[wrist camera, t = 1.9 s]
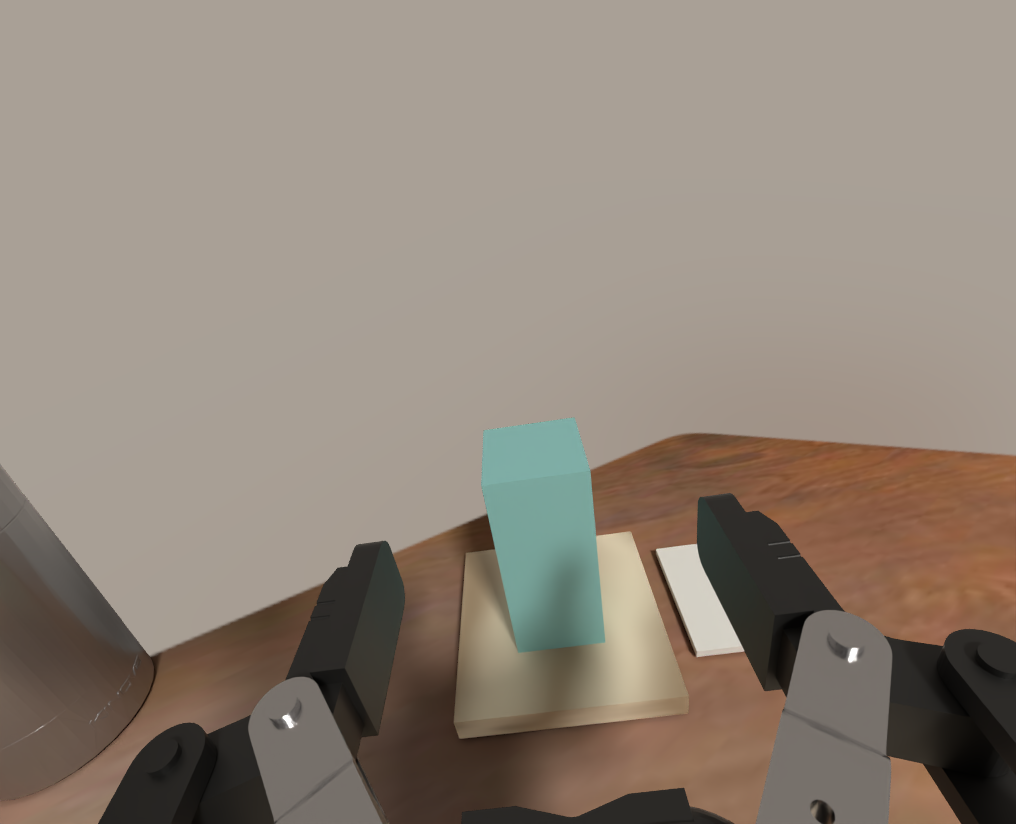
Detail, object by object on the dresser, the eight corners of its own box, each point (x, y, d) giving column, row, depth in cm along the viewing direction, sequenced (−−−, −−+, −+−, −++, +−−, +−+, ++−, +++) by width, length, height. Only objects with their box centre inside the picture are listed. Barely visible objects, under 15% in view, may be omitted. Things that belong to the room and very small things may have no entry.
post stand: (459, 738, 26) (431, 661, 23) (469, 568, 36) (451, 499, 33) (688, 713, 25) (691, 630, 22) (631, 547, 36) (628, 475, 33)
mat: (696, 657, 28) (696, 651, 28) (655, 554, 35) (655, 549, 35) (840, 640, 27) (842, 634, 27) (770, 539, 35) (770, 534, 34)
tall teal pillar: (518, 652, 28) (481, 485, 22) (515, 584, 33) (483, 430, 27) (605, 642, 28) (590, 470, 22) (590, 575, 32) (574, 417, 27)
